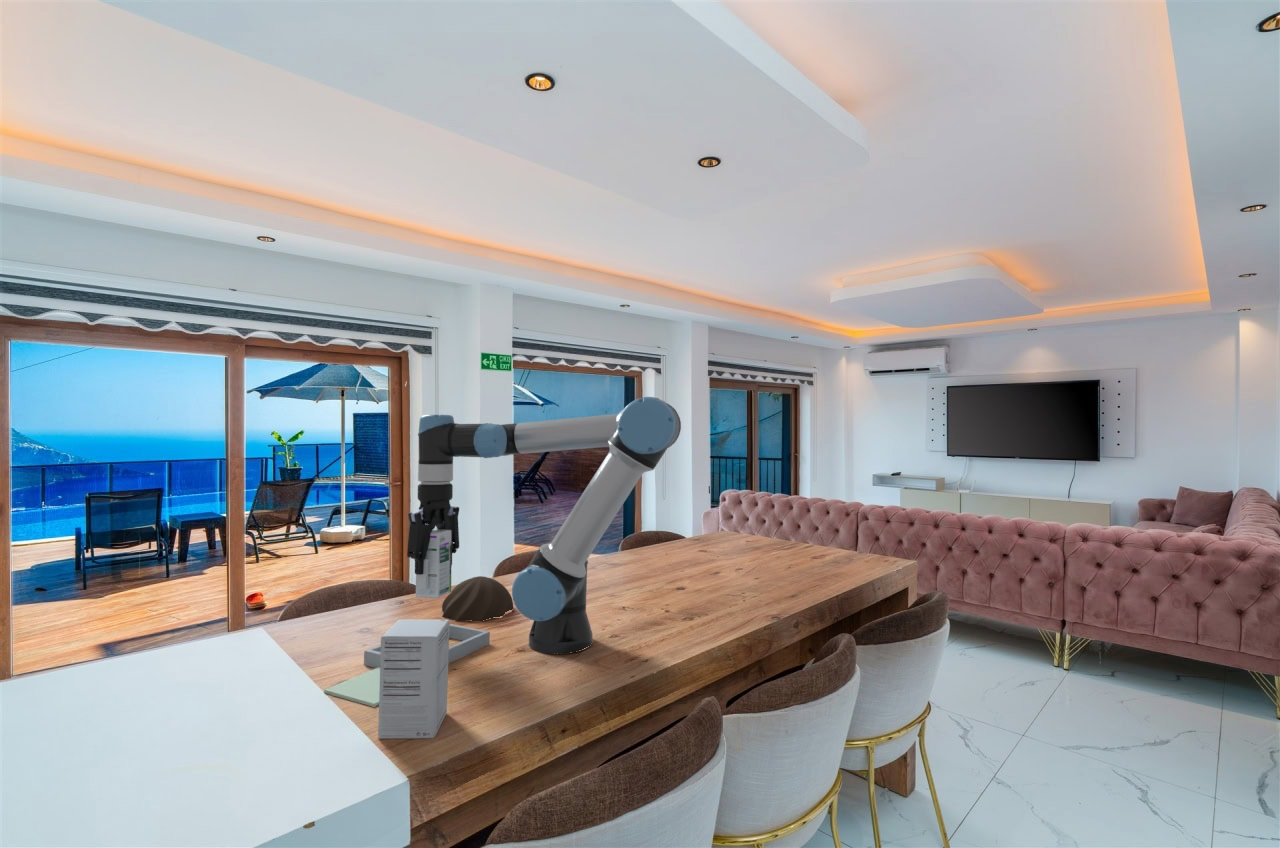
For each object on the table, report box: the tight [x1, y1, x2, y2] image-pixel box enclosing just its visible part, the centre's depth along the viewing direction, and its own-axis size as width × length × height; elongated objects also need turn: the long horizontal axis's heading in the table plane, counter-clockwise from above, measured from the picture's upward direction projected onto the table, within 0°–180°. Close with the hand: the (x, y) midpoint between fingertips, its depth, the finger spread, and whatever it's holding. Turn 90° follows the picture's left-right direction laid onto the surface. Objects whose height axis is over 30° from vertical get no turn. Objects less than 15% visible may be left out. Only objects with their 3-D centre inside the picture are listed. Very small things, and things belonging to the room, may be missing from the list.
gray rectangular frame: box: [363, 623, 491, 669], centre depth 139 cm, size 15×23×3 cm, turn 155°
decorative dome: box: [441, 575, 514, 622], centre depth 172 cm, size 19×20×10 cm
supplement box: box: [377, 618, 451, 740], centre depth 105 cm, size 10×9×17 cm
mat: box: [323, 667, 380, 708], centre depth 120 cm, size 13×13×1 cm
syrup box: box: [415, 528, 452, 599], centre depth 139 cm, size 6×6×14 cm
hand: (433, 584), depth 139 cm, fingers closed on syrup box, 6 cm apart
